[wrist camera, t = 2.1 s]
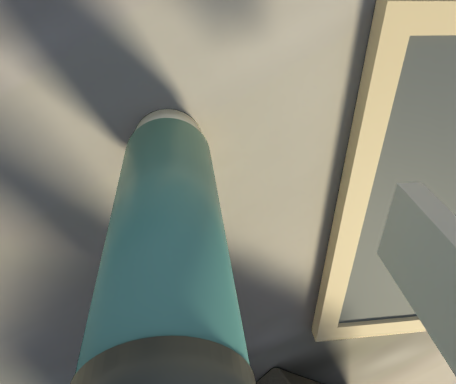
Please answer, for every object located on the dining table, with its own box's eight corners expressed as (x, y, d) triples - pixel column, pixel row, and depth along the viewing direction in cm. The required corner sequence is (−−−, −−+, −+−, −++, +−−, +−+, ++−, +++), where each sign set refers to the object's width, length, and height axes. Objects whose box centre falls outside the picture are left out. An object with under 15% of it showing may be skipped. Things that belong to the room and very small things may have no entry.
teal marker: (132, 178, 18) (70, 544, 7) (122, 104, 16) (17, 445, 5) (208, 174, 18) (264, 516, 7) (208, 102, 16) (281, 415, 5)
